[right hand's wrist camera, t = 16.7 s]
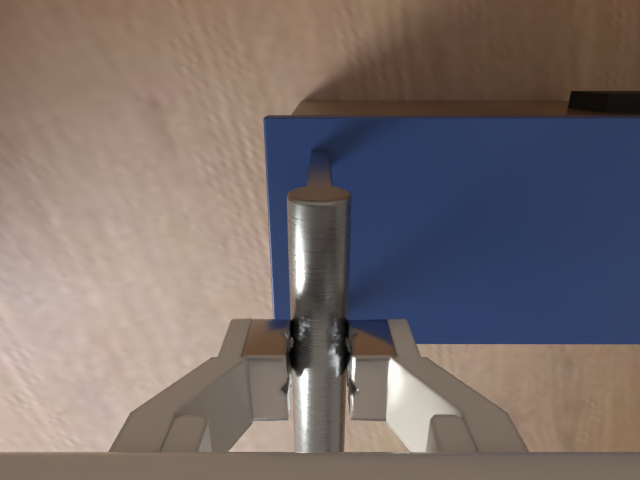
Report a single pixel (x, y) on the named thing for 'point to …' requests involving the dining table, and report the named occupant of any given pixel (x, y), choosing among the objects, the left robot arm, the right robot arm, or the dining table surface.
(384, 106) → the chest
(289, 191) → the lid
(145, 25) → the dining table surface
